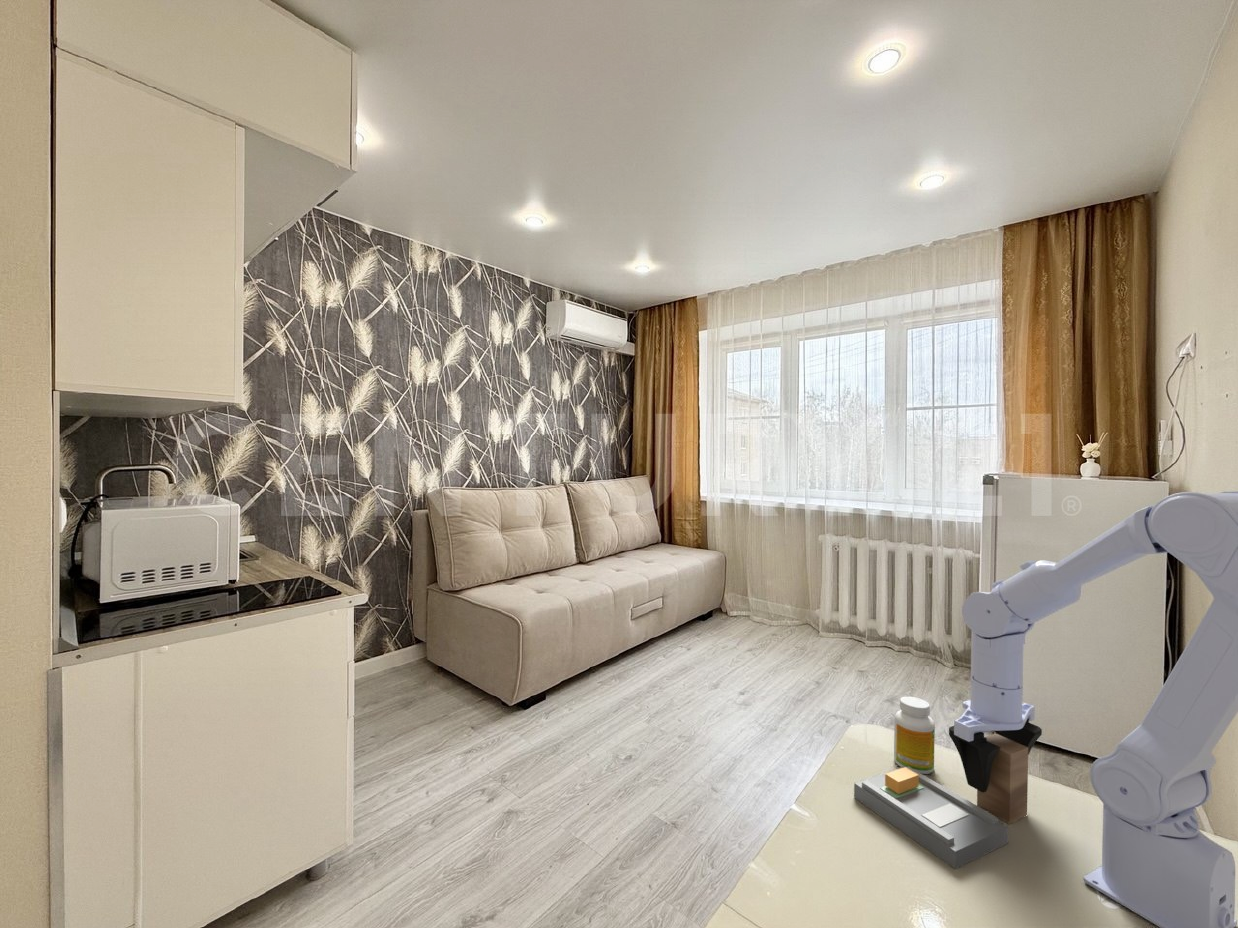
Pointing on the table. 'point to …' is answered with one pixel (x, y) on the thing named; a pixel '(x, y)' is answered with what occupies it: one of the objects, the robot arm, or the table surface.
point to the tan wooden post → (1006, 781)
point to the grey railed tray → (935, 818)
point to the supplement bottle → (914, 735)
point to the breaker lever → (901, 780)
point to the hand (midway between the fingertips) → (994, 780)
